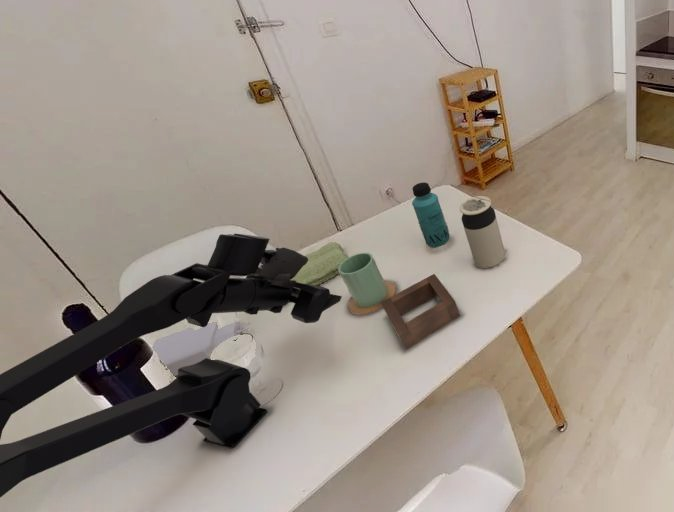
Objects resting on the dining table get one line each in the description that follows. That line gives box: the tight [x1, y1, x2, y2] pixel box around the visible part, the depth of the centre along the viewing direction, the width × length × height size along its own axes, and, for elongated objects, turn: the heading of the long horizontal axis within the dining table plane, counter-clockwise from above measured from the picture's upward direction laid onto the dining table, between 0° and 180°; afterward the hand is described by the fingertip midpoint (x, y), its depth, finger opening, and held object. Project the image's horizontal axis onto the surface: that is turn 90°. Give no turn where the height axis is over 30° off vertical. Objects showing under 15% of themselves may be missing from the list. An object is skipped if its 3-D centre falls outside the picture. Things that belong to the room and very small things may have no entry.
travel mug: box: [459, 195, 506, 269], centre depth 106 cm, size 8×8×18 cm
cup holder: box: [381, 273, 461, 350], centre depth 93 cm, size 12×12×5 cm
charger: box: [151, 320, 251, 377], centre depth 87 cm, size 5×9×15 cm
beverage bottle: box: [411, 181, 451, 249], centre depth 111 cm, size 6×7×20 cm
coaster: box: [348, 280, 397, 316], centre depth 99 cm, size 10×10×1 cm
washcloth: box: [291, 241, 350, 286], centre depth 106 cm, size 13×18×3 cm
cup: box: [338, 252, 388, 308], centre depth 96 cm, size 7×7×11 cm
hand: (324, 293), depth 87 cm, fingers open, 9 cm apart
